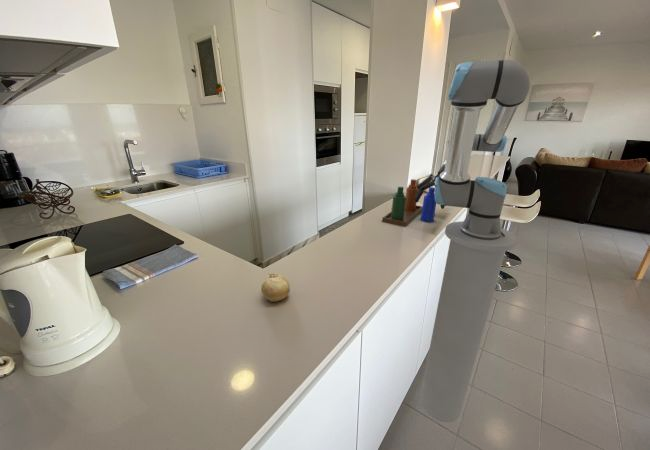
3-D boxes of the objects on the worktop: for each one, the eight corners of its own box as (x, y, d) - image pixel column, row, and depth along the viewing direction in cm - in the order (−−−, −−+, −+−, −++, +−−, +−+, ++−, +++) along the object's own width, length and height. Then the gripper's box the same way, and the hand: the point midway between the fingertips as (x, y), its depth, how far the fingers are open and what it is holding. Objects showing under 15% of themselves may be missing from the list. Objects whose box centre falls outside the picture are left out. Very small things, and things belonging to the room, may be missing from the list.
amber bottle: (416, 209, 153) (420, 179, 147) (413, 211, 148) (417, 181, 142) (406, 207, 156) (409, 178, 150) (402, 209, 151) (406, 180, 145)
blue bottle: (434, 219, 139) (440, 187, 133) (431, 223, 134) (437, 190, 128) (422, 217, 142) (427, 185, 136) (419, 220, 137) (423, 188, 131)
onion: (294, 291, 81) (293, 270, 79) (283, 308, 74) (281, 285, 72) (269, 286, 83) (268, 266, 81) (256, 302, 76) (254, 280, 74)
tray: (422, 210, 153) (423, 206, 152) (405, 226, 130) (405, 222, 129) (402, 206, 159) (402, 203, 158) (382, 221, 136) (382, 217, 135)
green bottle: (404, 219, 137) (408, 186, 131) (400, 223, 132) (404, 189, 126) (393, 217, 140) (396, 185, 134) (389, 220, 136) (392, 187, 129)
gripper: (475, 178, 132) (455, 214, 128) (427, 170, 149) (408, 202, 146) (473, 168, 127) (451, 205, 123) (423, 161, 144) (403, 194, 141)
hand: (428, 204), depth 134 cm, fingers open, 13 cm apart
